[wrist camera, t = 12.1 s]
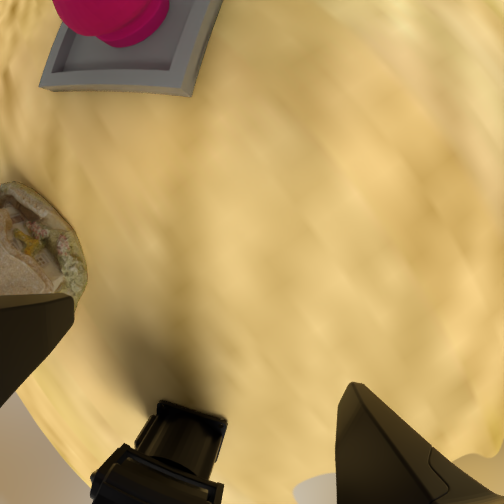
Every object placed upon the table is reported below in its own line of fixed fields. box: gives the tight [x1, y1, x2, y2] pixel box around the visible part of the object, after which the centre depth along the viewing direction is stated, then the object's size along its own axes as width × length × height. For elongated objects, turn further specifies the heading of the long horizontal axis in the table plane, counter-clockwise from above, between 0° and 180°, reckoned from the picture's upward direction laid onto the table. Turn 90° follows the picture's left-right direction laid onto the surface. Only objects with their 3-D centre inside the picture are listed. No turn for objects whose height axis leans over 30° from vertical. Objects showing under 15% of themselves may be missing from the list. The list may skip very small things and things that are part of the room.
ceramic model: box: [0, 181, 87, 312], centre depth 19 cm, size 14×11×10 cm
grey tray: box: [39, 0, 223, 97], centre depth 17 cm, size 14×14×2 cm
